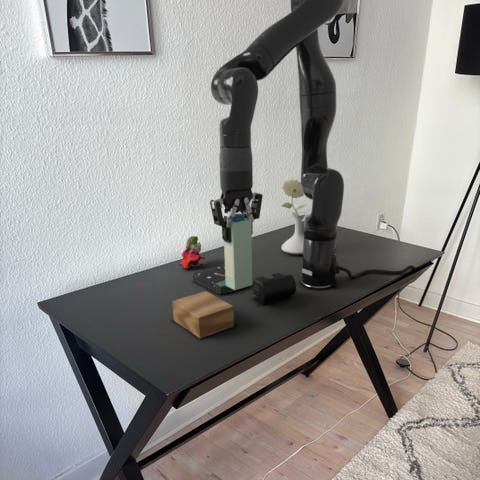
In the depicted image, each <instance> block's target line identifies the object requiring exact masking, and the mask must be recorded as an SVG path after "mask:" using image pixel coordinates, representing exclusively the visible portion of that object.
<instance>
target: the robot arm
mask: <svg viewBox="0 0 480 480" xmlns="http://www.w3.org/2000/svg"><path fill="white" fill-rule="evenodd" d="M344 1H345V0H290V12H289V13H288V14H287V15H285V16H283V17H282V18H281V19H278V20H277V21H276V22H274V23H273V24H271V25H269V26H268V27H267V28H266V29H264V30H263V31H262V32H261V33H260V34H259V35H257V37H256V38H255V39H254V40H253V41H252V42H251V43H250V44H249V45H248V46H247V47H246V49H245V50H243V51H242V52H241V53H239V54H237V55H236V56H234V57H233V58H231V59H230V60H228V61H227V62H226V63H224V64H223V65H222V66H220V68H218V69H217V70H216V71H215V73H214V74H213V77H212V78H211V82H210V92H211V96H212V98H213V99H214V100H215V101H216V102H217V103H219V104H220V105H224V106H230V110H229V114H228V116H226V117H224V118H222V119H221V120H220V122H219V128H218V130H219V131H218V132H219V133H218V134H219V155H218V160H219V162H218V163H219V184H220V186H219V187H220V190H221V195H220V197H219V198H217V199H210V201H209V206H210V210H211V215H212V220H213V225H217V226H220V227H221V238H222V240H223V242H224V241H225V242H227V243H230V242H231V228H230V226H231V222H232V219H233V218H234V217H235V214H239V213H240V214H243V215H245V218H247V219H250V220H251V228H252V234H253V233H254V232H253V231H254V230H253V229H254V228H253V227H254V225H253V223H254V221H255V220H258V219H260V217H261V210H262V202H263V196H264V195H263V194H262V193H258V192H253V190H252V189H253V187H254V175H253V174H254V172H253V171H254V169H253V168H254V167H253V164H254V163H253V162H254V161H253V159H254V158H253V150H252V124H253V120H254V116H255V112H256V106H257V102H258V98H259V83H258V81H261V80H264V79H266V78H267V77H268V76H269V75H271V73H272V72H273V71H274V70H275V69H276V68H277V67H278V66H279V65H280V63H282V61H284V59H286V57H287V56H288V55H289V54H290V53H291V52H292V51H293V50H294V49H295V52H296V64H297V78H298V79H297V80H298V103H299V105H298V106H299V118H300V138H301V163H300V164H301V166H300V167H301V169H300V182H301V188H302V191H303V193H304V196H305V197H306V198H307V199H309V200H312V202H311V211H310V213H308V214H306V215H305V216H304V218H303V236H304V241H303V254H302V268H301V285H302V286H303V287H305V288H309V289H313V290H326V289H329V288H335V281H336V275H339V274H340V271H342V272H345V273H346V274H347V276H348V278H350V279H357V278H359V277H361V276H363V275H367V274H369V273H370V274H371V273H377V274H378V273H380V274H388V275H401V274H404V273H407V271H409V270H412V271H416V270H417V268H416V267H415V266H414V265H407V266H406V267H405V268H404V269H401V270H386V269H376V268H372V269H371V268H370V269H365V270H363V271H361V272H359V273H357V274H355V275H353V274H352V272H351V270H350V269H349V268H346V267H343V266H340V264H339V261H337V253H336V249H337V239H338V238H337V237H338V225H339V220H340V219H341V216H342V210H343V202H344V194H345V181H344V178H343V177H344V176H343V175H342V173H341V172H340V171H338V169H335V168H330V167H329V165H328V141H329V137H330V133H331V131H332V128H333V125H334V123H335V120H336V116H337V106H338V105H337V83H336V79H335V77H334V74H333V72H332V70H331V68H330V66H329V64H328V62H327V60H326V57H325V56H324V54H323V51H322V48H321V46H320V39H319V38H320V37H319V28H320V27H322V26H323V25H325V24H326V23H327V22H329V21H331V20H332V19H333V18H334V17H336V16H337V15H338V13H340V11H341V9H342V7H343V4H344Z"/></svg>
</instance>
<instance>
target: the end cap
mask: <svg viewBox="0 0 480 480" xmlns="http://www.w3.org/2000/svg"><path fill="white" fill-rule="evenodd" d="M271 276H272V277H273V278H266V277H265V276H257V277H255V278H252V286H255V287H256V288H257V289H256V288H253V289H252V292H253V295H254V297H253V299H254V300H255V301H256V302H257V303H259V304H260V305H264V304H269V303H273V302H276V301H281V300H285V299H289V298H291V297H293V296H294V295H295V294H296V292H297V283H296V280H295V278H294V276H293V275H291V274H290V273H289V274H286V275H285V274H284V273H281V272H277V273H272V274H271Z"/></svg>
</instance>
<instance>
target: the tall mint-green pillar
mask: <svg viewBox="0 0 480 480" xmlns="http://www.w3.org/2000/svg"><path fill="white" fill-rule="evenodd" d="M230 228H231V242H230V243H227V242H225V241H224V240H223V251H224V268H225V279H226V286H228V287H230V288H231V289H233V290H234V291H237V290H240V289H244V288H247V287H250V286H253V246H252V245H253V239H252V238H253V233H252V228H251V220H250V219H247V218H245V215H243V214H242V213H235V217H234V218H233V219H232V222H231V226H230Z"/></svg>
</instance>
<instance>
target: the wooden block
mask: <svg viewBox="0 0 480 480" xmlns="http://www.w3.org/2000/svg"><path fill="white" fill-rule="evenodd" d="M171 305H172V316H173V321H174V322H175V323H176V324H178V325H179V326H181V327H182V328H184V329H186V330H187V331H188V332H189V333H191V334H192V335H194V336H195V337H197V338H198V339H200V340H201V339H204V338H206V337H208V336H211V335H214V334H217V333H220V332H222V331H225V330H228V329H231V328H234V327H235V311H234V310H235V307H234V305H232V304H230V303H229V302H226V301H225V300H222V299H221V298H219V297H217V296H216V295H214V294H212V293H210V292H208V291H206V290H204V291H201V292H198V293H193V294H191V295H187V296H184V297H180V298H176V299H174V300H172V301H171Z"/></svg>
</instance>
